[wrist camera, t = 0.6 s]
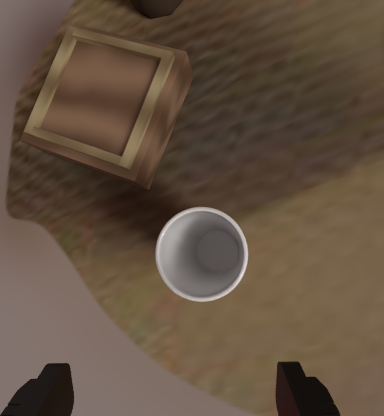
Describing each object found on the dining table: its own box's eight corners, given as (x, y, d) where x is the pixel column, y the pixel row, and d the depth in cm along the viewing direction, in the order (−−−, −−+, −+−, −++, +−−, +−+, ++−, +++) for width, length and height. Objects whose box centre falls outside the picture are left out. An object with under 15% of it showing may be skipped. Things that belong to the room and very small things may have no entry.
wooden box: (89, 48, 43) (64, 16, 37) (193, 76, 39) (184, 45, 33) (46, 152, 42) (13, 137, 36) (148, 190, 38) (131, 179, 32)
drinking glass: (187, 276, 36) (147, 295, 21) (194, 219, 37) (160, 200, 22) (244, 284, 35) (243, 311, 20) (250, 226, 35) (254, 210, 21)
